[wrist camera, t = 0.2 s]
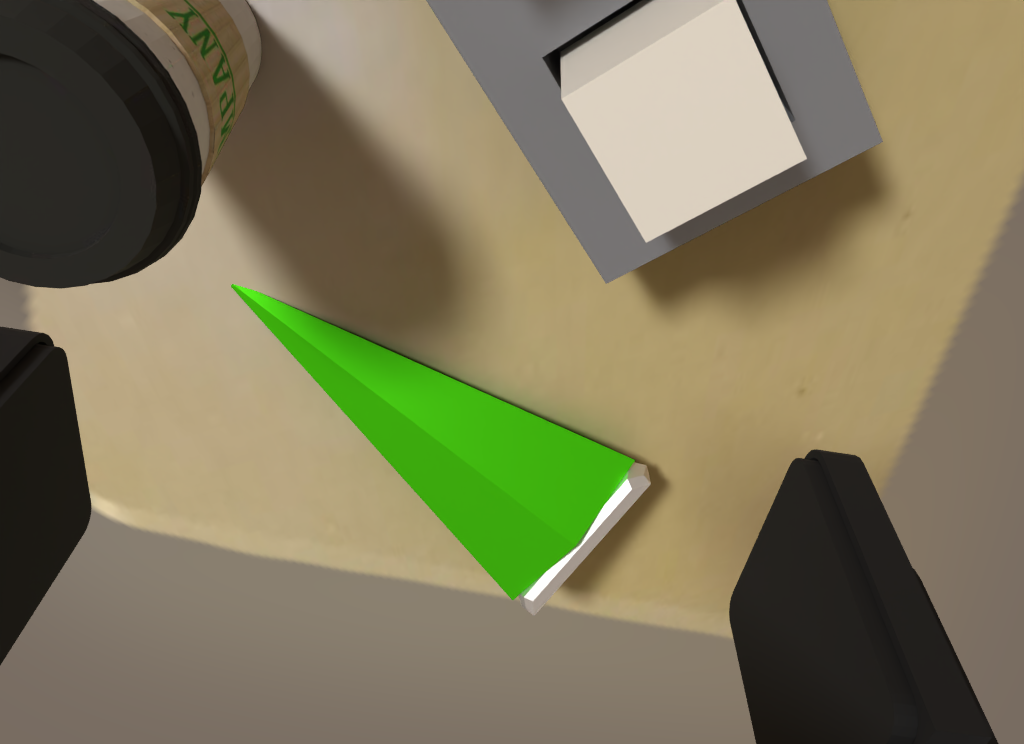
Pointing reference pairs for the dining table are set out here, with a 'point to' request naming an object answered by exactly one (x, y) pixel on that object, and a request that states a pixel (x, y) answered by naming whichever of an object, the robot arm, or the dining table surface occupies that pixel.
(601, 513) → the green triangular piece
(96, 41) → the coffee cup
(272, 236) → the dining table surface
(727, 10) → the cream key
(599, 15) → the key panel
